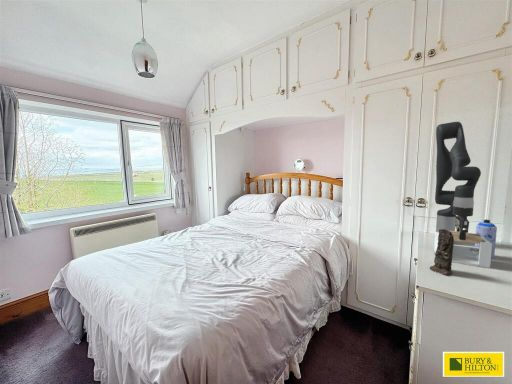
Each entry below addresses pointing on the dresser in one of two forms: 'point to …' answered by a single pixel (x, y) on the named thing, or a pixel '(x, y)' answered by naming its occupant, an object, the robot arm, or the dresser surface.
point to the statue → (444, 253)
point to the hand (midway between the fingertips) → (460, 238)
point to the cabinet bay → (470, 253)
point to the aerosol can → (487, 234)
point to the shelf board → (467, 237)
